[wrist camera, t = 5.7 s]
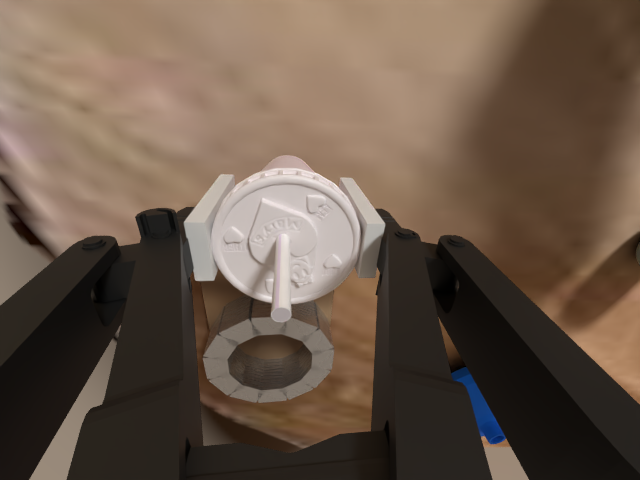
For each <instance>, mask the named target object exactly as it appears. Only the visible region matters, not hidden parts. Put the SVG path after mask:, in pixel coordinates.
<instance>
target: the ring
mask: <svg viewBox="0 0 640 480" xmlns="http://www.w3.org/2000/svg"><path fill="white" fill-rule="evenodd" d="M271 307H272V303H268V302H264V301H261V300H257V299H255V298H252V297H250V296H248V295H246V294H245V295H243V296H241V297H239V298H237V299H235V300H233V301H231V302H229V303H227V304H226V306H224V307H223V309H222V310H221V312H220V313H219V315H218V317H217V318H216V320H215V321H214V323H213V325H212V327H211V331H210V334H209V338H208V341H207V344H206V348H205V351H204V355H203V362H204V367H205V371H206V376H207V379H209V380H208V381H209V382H211V383H212V384H213V385H214V386H216V387H217V388H218V389H220V390H221V391H222V392H223V393H225V394H226V395H229V394H230V396H229V397H234V398H238V399H242V400H246V401H250V402H255V403H256V402H257V401H258V402H259V403H264V402H275V401H285V400H287V398H288V399H289V400H290V399H292V398H294V397H297V396H299V395H301V394H304V393H306V392H308V391H310V390H313V387H314V388H316V387H317V386H318V385H319V383H320V382H321V381H322V380H323V379H324V378H325V377H326V376H327V375H328V374H329V373H330V372H331V369H332V364H333V355H334V346H333V341H332V336H331V331H330V327H329V322H328V319H327V317H326V316H325V315H324V313H323V312H322V310H321V309H320V307H319V306H318V305H317V303H316V302H314V300H311V301H308V302H304V303H298V304H291V318H290V319H289V320H287V321H285V322H277V321H274V320H273V319H272V317H271ZM275 334H283V335H286V336H289V337H292V338H294V339H297V340H300V341H302V342H303V343H304V345H303V346H302V347H301V348H300V349H299V351H297V352H295V353H293V354H290V355H288V356H286V357H284V358H277V359H260V358H257V357H254V356H251V355H247V354H246V353H245V352H244V351H243V350H242V349H240V348H239V347H238V346H237V345H239V344H241V343H243V342H245V341H247V340H249V339H251V338H253V337H256V336H258V335H275Z"/></svg>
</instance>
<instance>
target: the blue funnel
mask: <svg viewBox="0 0 640 480" xmlns="http://www.w3.org/2000/svg"><path fill="white" fill-rule="evenodd" d="M451 375H452V378H453V380H454V381H458V382H462V383H463V384H464V385H465V386H466V388H467V391H468V393H469V396H470V399H471V403H472V407H473V410H474V414H475V418H476V421H477V425H478V429H479V432H480V436H485V437H486V439H487V440H488V442H489V443H490V444H497V443H500V442H502V441H504V440H505V439H506V437H505V435H504V433H503V432H502V430H501V428H500V426H499V424H498V423H497V421H496V419H495V417H494V415H493V414H492V412H491V410H490V408H489V406H488V405H487V403H486V401H485V399H484V397H483V396H482V394H481V392H480V390H479V388H478V387H477V385H476V383H475V381H474V379H473V378H472V376H471V374H470V372H469V370H468V369H467V367H464V368H461V369H459V370H456V371H454V372H452V373H451Z"/></svg>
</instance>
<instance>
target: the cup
mask: <svg viewBox="0 0 640 480" xmlns="http://www.w3.org/2000/svg"><path fill="white" fill-rule="evenodd" d="M636 260H637V263H638V264H639V266H640V242H639V244H638V246H637V249H636Z"/></svg>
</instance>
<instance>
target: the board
mask: <svg viewBox="0 0 640 480" xmlns="http://www.w3.org/2000/svg"><path fill="white" fill-rule="evenodd" d="M200 283H201V288H202V293H203V299H204V304H205V309H206V315H207V320H208V325H209V330H210V331H211V327H212V325H213V323H214V321H215V320H216V318H217V317H218V315H219V313H220V312H221V310H222V309H223V307H224V306H226V304H227V303H229V302H231V301H233V300H235V299H237V298H239V297H241V296H243V295H245V294H244V293H243V292H241V291H240V290H238V289H237V288H235V287H234V286H233V285H232V284H231V283H230V282H229V281H228V280H227V279H226V278H225V277H224V275H223V274H222V273H221V271H220V270H219V269H218V271H217V274H216V277H215V279H214V281H200ZM333 294H334V290H333V291H331V292H329V293H328V294H326V295H324V296H322V297H320V298H317V299H315V300H314V302H316V303H317V305H318V306H319V307H320V309H321V310H322V312H323V313H324V315H325V316H326V317H327V319H328V322H329V327H330V324H331V314H332V304H333ZM303 345H304V343H303V342H302V341H300V340H297V339H294V338H292V337H289V336H286V335H283V334H275V335H258V336H256V337H253V338H251V339H249V340H247V341H245V342H243V343H241V344H239V345H237V346H238V347H239V348H240V349H242V350H243V351H244V352H245V353H246V354H247V355H251V356H254V357H257V358H260V359H277V358H284V357H286V356H288V355H290V354H293V353H295V352H297V351H299V349H300V348H301V347H302V346H303ZM324 379H325V378H324Z"/></svg>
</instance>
